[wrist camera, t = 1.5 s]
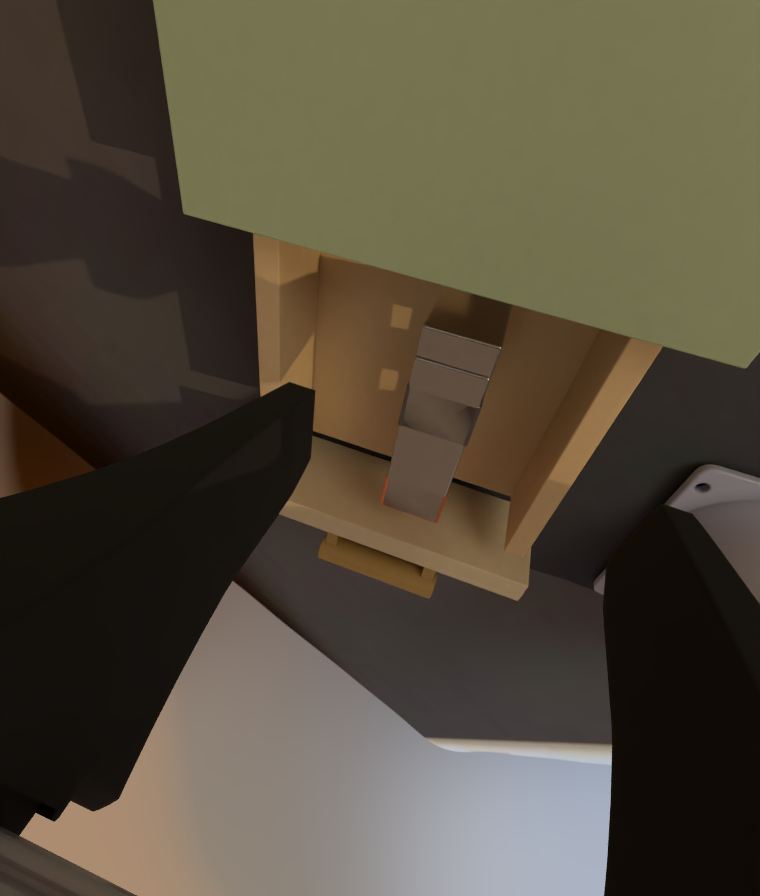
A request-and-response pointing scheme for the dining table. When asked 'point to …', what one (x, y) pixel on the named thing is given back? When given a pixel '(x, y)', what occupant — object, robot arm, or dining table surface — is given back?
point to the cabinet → (491, 148)
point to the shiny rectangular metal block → (443, 399)
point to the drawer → (379, 406)
